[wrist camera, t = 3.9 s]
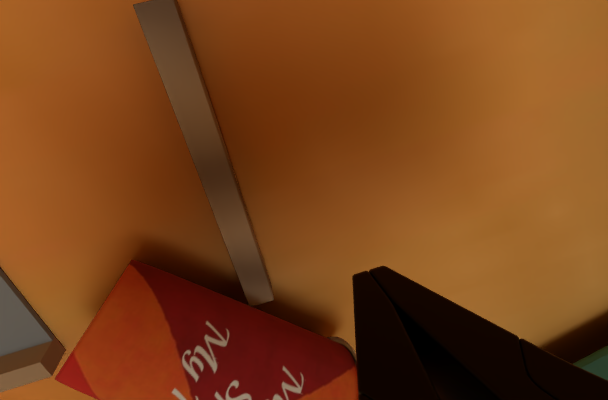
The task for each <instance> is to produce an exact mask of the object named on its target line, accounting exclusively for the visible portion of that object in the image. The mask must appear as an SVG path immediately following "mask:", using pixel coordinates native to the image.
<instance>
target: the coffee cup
mask: <svg viewBox="0 0 608 400" xmlns="http://www.w3.org/2000/svg"><path fill="white" fill-rule="evenodd" d="M55 380H57V381H59V382H60V383H63V384H65V385H67V386H69V387H71V388H73V389H75V390H77V391H80V392H82V393H84V394H87V395H89V396H91V397H94V398H96V399H98V400H358V396H359V394H358V380H357V360H356V353H355V351H354V349H353V348H352V347H351V345H350V344H349V343H348V342H346V341H345V340H344V339H341V338H339V337H327V338H326V337H323V336H321V335H318V334H316V333H314V332H311V331H309V330H306V329H304V328H301V327H299V326H297V325H294V324H292V323H289V322H287V321H285V320H282V319H280V318H277V317H275V316H273V315H270V314H268V313H265V312H263V311H261V310H258V309H256V308H253V307H251V306H249V305H246V304H244V303H241V302H239V301H237V300H234V299H232V298H229V297H227V296H224V295H222V294H220V293H217V292H215V291H212V290H210V289H207V288H205V287H203V286H200V285H198V284H195V283H193V282H190V281H188V280H185V279H183V278H180V277H178V276H176V275H173V274H171V273H168V272H165V271H163V270H160V269H158V268H155V267H153V266H150V265H147V264H145V263H142V262H139V261H136V260H131V262H130V263H129V265H128V266H127V268H126V269H125V271H124V272H123V274H122V276H121V277H120V279H119V280H118V282H117V283H116V285H115V286H114V288H113V289H112V291H111V292H110V294H109V296H108V297H107V299H106V300H105V302H104V303H103V305H102V306H101V308H100V309H99V311H98V313H97V314H96V316H95V317H94V319H93V320H92V322H91V323H90V325H89V326H88V328H87V330H86V331H85V333H84V334H83V336H82V337H81V339H80V340H79V342H78V343H77V345H76V347H75V348H74V350H73V351H72V353H71V354H70V356H69V357H68V359H67V360H66V362H65V364H64V365H63V367H62V368H61V370H60V371H59V373H58V374H57V376H56V377H55Z"/></svg>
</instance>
